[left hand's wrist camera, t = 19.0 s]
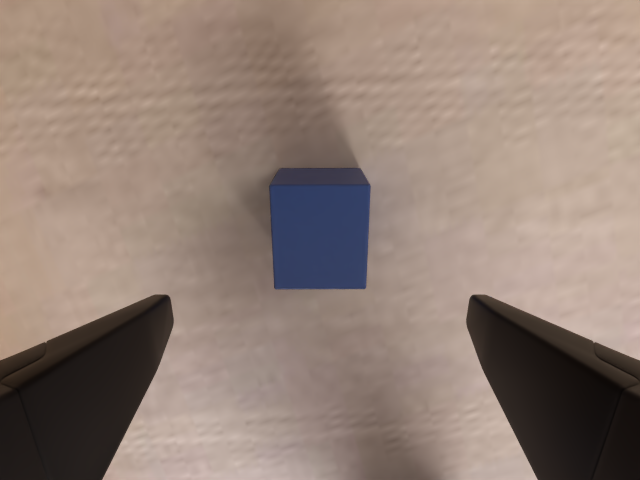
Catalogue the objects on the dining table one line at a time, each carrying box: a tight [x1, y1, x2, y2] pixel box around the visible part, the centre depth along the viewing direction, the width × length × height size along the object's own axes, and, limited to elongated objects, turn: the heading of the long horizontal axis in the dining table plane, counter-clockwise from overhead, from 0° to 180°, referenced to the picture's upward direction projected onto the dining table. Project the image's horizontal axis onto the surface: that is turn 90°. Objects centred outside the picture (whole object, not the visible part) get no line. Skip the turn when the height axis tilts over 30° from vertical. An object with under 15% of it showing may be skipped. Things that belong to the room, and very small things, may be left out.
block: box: [269, 168, 370, 289], centre depth 19 cm, size 5×4×4 cm
